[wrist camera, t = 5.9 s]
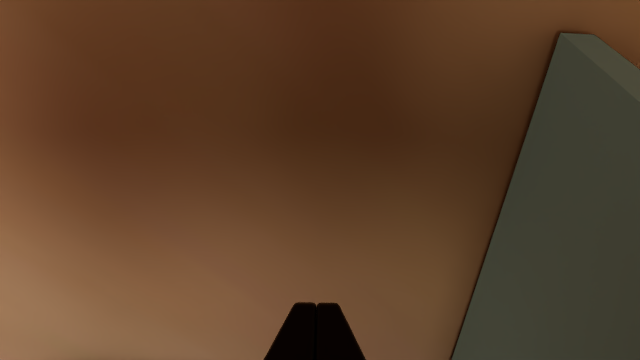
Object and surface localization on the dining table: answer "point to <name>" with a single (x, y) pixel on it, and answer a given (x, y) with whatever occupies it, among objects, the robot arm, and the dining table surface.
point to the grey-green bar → (568, 222)
